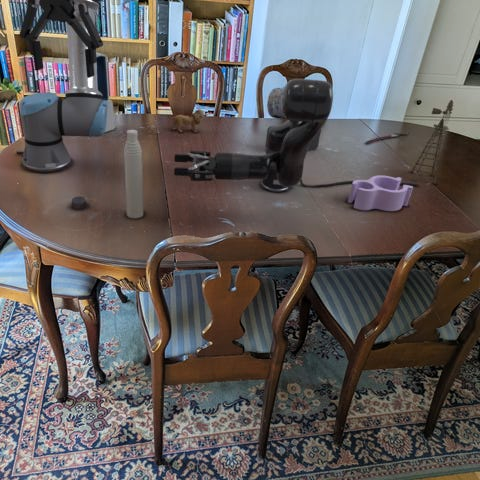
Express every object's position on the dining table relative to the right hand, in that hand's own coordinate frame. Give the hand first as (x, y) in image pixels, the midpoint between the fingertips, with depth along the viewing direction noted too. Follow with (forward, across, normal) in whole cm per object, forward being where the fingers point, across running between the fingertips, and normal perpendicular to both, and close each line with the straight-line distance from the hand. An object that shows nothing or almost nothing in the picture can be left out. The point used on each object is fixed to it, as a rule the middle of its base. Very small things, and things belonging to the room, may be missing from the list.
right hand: (174, 164), depth 130 cm
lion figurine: (-5, -71, +18) cm, 73 cm away
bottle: (+11, +1, +16) cm, 20 cm away
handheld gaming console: (-48, -54, +18) cm, 74 cm away
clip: (-68, -10, +17) cm, 71 cm away
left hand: (+28, -4, -22) cm, 36 cm away
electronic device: (+31, -66, +18) cm, 75 cm away
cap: (+28, -3, +14) cm, 31 cm away
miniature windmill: (-95, -32, +17) cm, 101 cm away
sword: (-96, -72, +18) cm, 122 cm away
